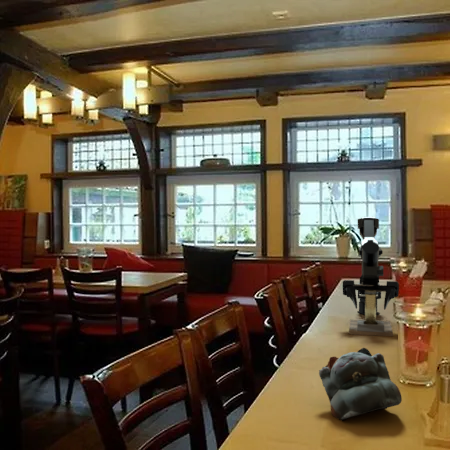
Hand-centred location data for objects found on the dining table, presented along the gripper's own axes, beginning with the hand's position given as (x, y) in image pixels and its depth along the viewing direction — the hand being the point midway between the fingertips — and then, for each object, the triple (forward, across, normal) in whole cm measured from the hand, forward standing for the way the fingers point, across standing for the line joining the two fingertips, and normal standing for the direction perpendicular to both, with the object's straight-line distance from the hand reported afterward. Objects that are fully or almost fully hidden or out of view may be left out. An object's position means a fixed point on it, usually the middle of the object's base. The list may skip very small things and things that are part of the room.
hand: (370, 308), depth 179 cm
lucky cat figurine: (+59, -4, -47) cm, 75 cm away
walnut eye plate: (+2, 0, +10) cm, 10 cm away
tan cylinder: (+4, 0, +5) cm, 7 cm away
